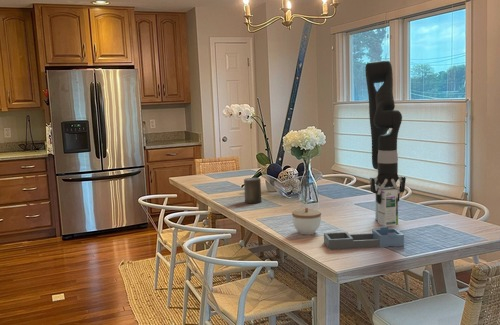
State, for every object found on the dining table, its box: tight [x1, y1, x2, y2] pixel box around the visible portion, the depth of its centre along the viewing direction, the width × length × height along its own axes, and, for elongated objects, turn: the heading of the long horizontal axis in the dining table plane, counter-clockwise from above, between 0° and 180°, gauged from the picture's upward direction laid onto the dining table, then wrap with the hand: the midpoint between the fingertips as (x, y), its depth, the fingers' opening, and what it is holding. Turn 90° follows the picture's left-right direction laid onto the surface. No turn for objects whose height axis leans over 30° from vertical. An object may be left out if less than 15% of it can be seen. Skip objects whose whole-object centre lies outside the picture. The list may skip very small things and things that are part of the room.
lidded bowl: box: [291, 207, 322, 236], centre depth 209 cm, size 13×13×11 cm
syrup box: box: [377, 188, 399, 227], centre depth 188 cm, size 6×6×14 cm
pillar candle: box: [243, 177, 262, 204], centre depth 275 cm, size 10×10×15 cm
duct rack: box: [323, 225, 405, 251], centre depth 189 cm, size 12×30×5 cm, turn 93°
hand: (387, 202), depth 188 cm, fingers closed on syrup box, 6 cm apart
